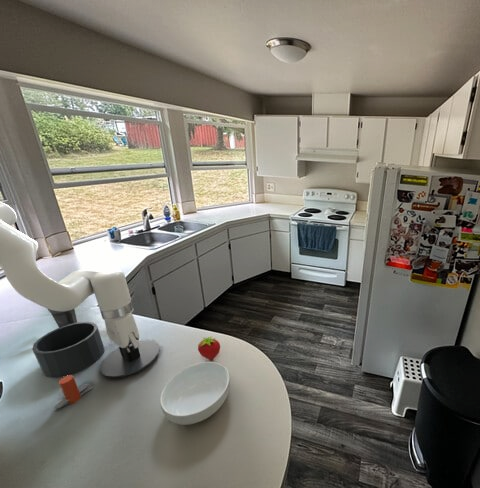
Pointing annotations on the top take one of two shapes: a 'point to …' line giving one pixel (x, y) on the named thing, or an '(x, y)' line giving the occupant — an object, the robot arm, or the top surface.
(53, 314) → the beverage cup
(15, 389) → the top surface
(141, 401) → the top surface
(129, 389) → the top surface
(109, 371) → the lid
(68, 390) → the blade
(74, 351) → the processor bowl
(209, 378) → the cereal bowl
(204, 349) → the strawberry
